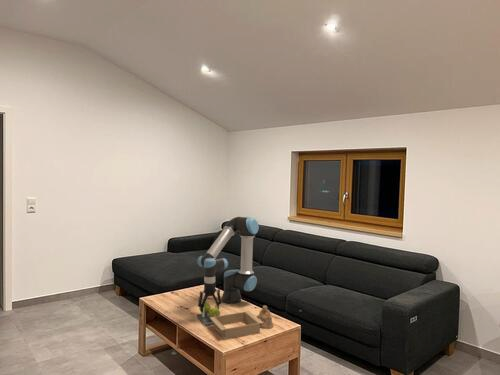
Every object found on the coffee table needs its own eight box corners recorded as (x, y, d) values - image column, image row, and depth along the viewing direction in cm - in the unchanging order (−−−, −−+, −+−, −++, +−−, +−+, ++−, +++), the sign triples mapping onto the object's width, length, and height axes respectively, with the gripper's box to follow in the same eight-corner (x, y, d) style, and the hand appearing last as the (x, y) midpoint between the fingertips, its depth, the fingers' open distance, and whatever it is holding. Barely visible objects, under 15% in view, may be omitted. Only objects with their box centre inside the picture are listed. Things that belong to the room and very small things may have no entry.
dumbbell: (198, 313, 264) (198, 303, 264) (208, 311, 269) (208, 300, 269) (210, 321, 251) (210, 310, 251) (221, 318, 256) (221, 307, 255)
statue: (276, 305, 257) (273, 306, 248) (274, 328, 254) (272, 329, 244) (258, 304, 260) (254, 304, 251) (256, 326, 257) (253, 327, 247)
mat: (213, 313, 271) (213, 311, 271) (223, 323, 254) (223, 321, 254) (196, 316, 266) (196, 314, 266) (205, 326, 249) (205, 324, 249)
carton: (248, 319, 260) (248, 311, 260) (263, 332, 240) (263, 322, 240) (209, 326, 248) (209, 317, 248) (221, 340, 229) (221, 330, 229)
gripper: (222, 278, 267) (222, 311, 268) (192, 282, 258) (192, 316, 259) (226, 281, 260) (226, 315, 261) (196, 285, 251) (196, 320, 252)
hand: (209, 315), depth 260 cm, fingers closed on dumbbell, 8 cm apart
